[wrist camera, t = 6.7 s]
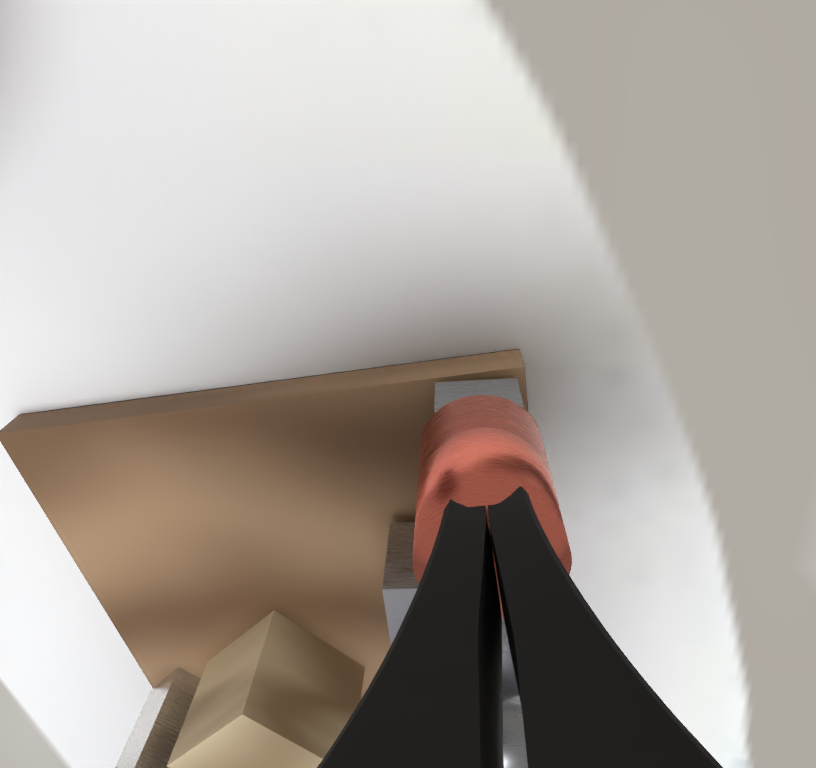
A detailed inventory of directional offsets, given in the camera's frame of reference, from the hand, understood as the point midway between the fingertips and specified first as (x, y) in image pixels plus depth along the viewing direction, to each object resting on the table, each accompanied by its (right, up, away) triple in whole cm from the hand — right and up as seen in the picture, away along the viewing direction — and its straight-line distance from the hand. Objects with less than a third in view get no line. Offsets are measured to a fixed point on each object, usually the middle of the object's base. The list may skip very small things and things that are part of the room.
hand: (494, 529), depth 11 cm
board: (-4, -5, +9) cm, 11 cm away
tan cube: (-6, -7, +10) cm, 14 cm away
